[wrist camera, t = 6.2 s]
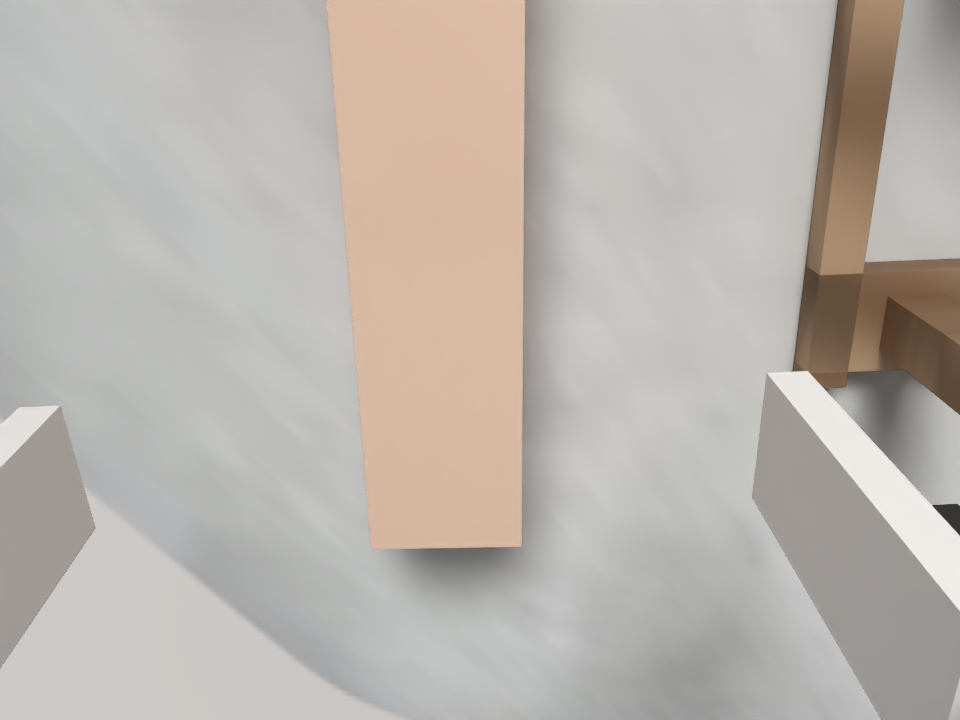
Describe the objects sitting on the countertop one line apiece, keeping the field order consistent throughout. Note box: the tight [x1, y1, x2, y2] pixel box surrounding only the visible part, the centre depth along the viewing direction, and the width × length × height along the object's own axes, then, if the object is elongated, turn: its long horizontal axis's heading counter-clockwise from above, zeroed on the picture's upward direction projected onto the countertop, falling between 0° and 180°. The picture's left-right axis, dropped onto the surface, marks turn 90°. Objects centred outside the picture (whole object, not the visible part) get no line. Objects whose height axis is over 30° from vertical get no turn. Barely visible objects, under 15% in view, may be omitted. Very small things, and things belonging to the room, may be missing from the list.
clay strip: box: [326, 0, 525, 549], centre depth 20 cm, size 18×4×5 cm, turn 1°
